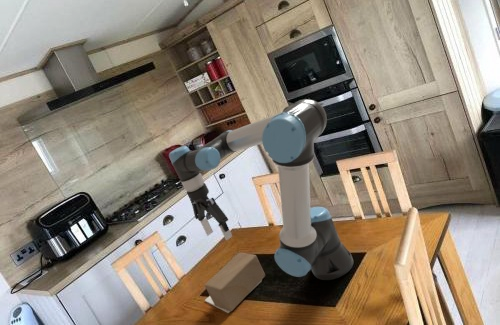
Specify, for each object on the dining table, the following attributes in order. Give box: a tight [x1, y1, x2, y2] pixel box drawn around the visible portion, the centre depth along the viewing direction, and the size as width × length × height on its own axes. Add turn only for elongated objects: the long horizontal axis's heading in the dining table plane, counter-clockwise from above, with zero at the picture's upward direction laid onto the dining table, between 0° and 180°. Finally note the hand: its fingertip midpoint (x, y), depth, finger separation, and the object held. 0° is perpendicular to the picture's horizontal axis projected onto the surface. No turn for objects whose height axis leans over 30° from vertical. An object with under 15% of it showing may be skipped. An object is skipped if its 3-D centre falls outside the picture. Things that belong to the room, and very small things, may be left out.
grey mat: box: [204, 279, 263, 314], centre depth 144 cm, size 16×18×1 cm
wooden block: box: [204, 252, 266, 312], centre depth 140 cm, size 10×10×20 cm
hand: (219, 235), depth 141 cm, fingers open, 13 cm apart
